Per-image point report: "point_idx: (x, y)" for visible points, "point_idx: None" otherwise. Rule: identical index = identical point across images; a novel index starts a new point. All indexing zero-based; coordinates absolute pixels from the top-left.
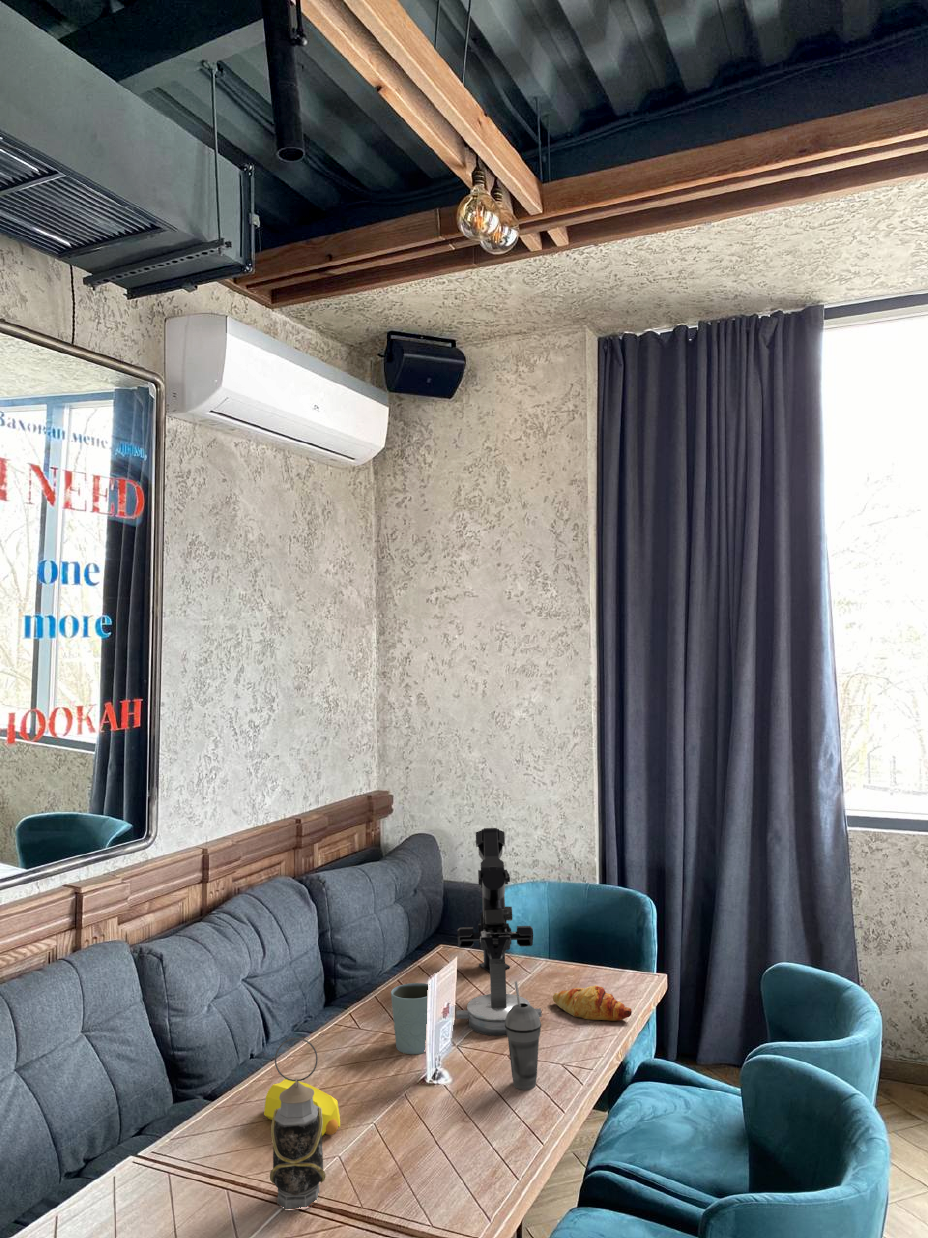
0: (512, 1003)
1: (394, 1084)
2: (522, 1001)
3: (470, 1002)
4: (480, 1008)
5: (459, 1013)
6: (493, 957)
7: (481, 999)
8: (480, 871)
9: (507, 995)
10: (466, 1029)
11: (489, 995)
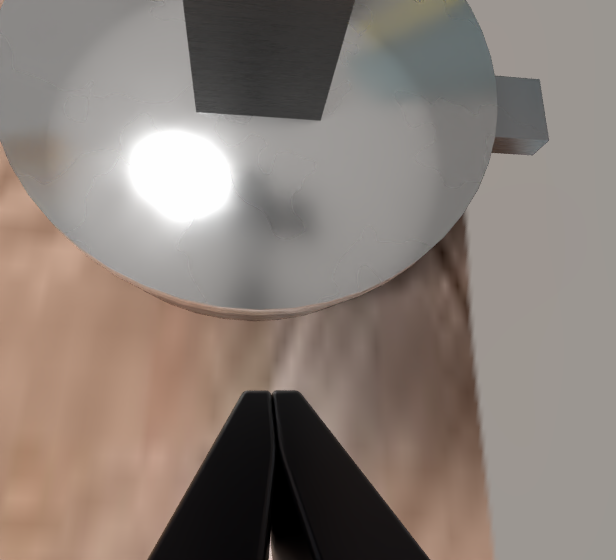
0: (143, 75)
1: None
2: (47, 103)
3: (479, 137)
4: (397, 25)
5: (523, 90)
6: (352, 516)
7: (398, 185)
8: None
9: (166, 249)
10: None
11: (332, 265)
